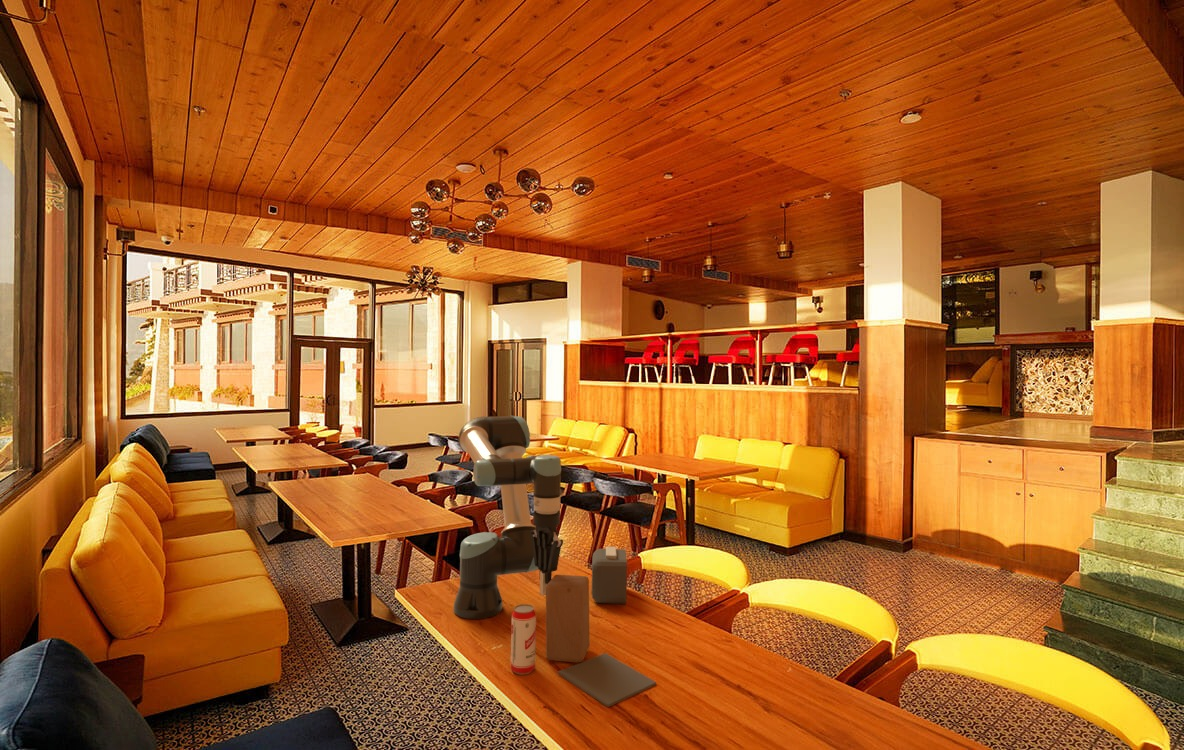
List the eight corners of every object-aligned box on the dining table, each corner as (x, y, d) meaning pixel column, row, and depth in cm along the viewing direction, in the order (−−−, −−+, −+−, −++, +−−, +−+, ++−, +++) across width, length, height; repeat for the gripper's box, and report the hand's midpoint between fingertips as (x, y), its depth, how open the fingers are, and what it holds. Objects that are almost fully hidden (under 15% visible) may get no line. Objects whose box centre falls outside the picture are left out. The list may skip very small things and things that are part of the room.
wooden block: (582, 664, 160) (581, 587, 160) (545, 661, 162) (544, 585, 162) (590, 647, 170) (589, 575, 170) (555, 645, 172) (554, 573, 172)
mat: (557, 673, 156) (558, 671, 156) (605, 655, 167) (605, 652, 167) (607, 707, 142) (607, 704, 142) (656, 684, 152) (656, 682, 152)
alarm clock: (626, 606, 200) (627, 559, 199) (591, 605, 200) (592, 558, 199) (624, 587, 216) (625, 543, 215) (591, 587, 216) (592, 542, 215)
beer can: (539, 666, 160) (540, 605, 160) (528, 678, 154) (529, 614, 154) (517, 661, 162) (518, 601, 162) (506, 673, 156) (507, 611, 156)
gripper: (522, 508, 176) (521, 589, 177) (549, 517, 166) (548, 604, 167) (543, 504, 181) (542, 584, 181) (571, 513, 171) (569, 597, 172)
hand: (545, 593), depth 174 cm, fingers closed
